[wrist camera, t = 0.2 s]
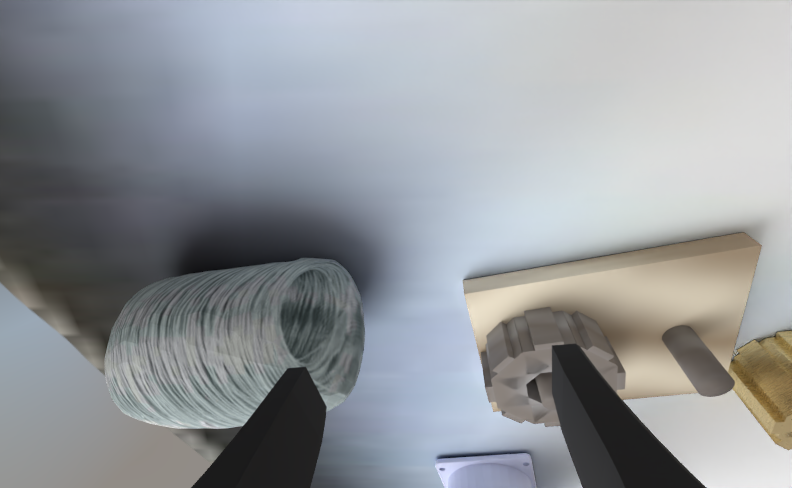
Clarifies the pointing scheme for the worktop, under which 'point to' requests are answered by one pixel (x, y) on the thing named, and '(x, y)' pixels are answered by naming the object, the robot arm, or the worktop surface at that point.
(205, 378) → the spool
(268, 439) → the robot arm
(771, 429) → the brass gear
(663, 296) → the gear board
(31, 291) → the worktop surface
